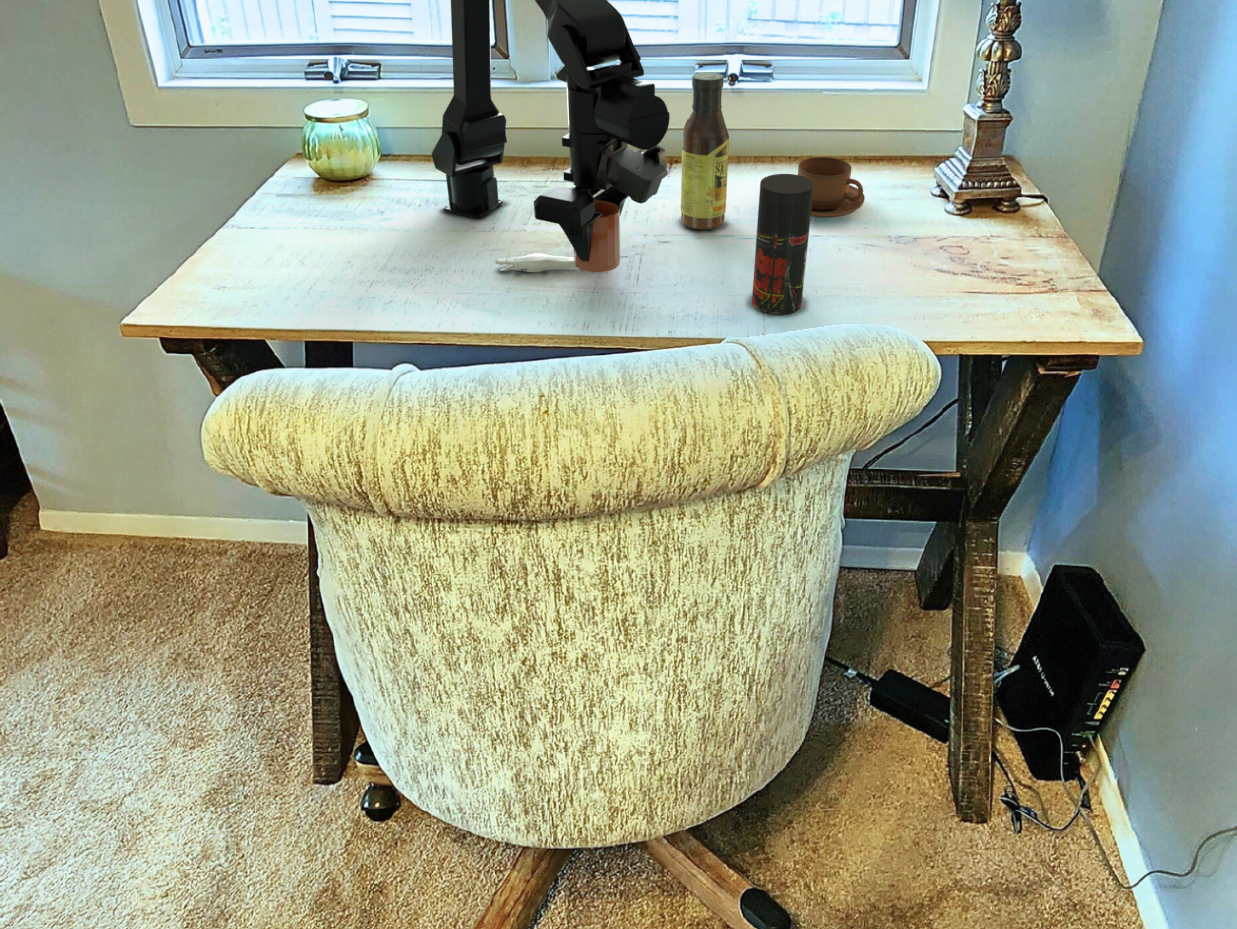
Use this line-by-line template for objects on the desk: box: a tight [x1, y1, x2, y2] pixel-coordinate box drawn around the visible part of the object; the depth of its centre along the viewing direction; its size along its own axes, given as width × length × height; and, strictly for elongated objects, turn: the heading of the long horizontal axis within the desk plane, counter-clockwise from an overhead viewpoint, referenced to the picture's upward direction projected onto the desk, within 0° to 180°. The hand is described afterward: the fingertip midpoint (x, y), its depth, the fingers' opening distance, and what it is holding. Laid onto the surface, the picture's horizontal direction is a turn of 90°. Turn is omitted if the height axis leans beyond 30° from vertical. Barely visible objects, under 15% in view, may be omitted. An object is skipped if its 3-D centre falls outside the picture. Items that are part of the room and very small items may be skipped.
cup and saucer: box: [797, 156, 866, 219], centre depth 145 cm, size 12×12×6 cm
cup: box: [573, 200, 621, 273], centre depth 126 cm, size 6×6×7 cm
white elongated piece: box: [494, 252, 577, 273], centre depth 131 cm, size 15×3×2 cm, turn 92°
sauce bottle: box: [680, 71, 730, 230], centre depth 137 cm, size 7×6×20 cm
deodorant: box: [751, 173, 814, 316], centre depth 119 cm, size 6×6×15 cm
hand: (596, 251), depth 127 cm, fingers closed on cup, 6 cm apart
